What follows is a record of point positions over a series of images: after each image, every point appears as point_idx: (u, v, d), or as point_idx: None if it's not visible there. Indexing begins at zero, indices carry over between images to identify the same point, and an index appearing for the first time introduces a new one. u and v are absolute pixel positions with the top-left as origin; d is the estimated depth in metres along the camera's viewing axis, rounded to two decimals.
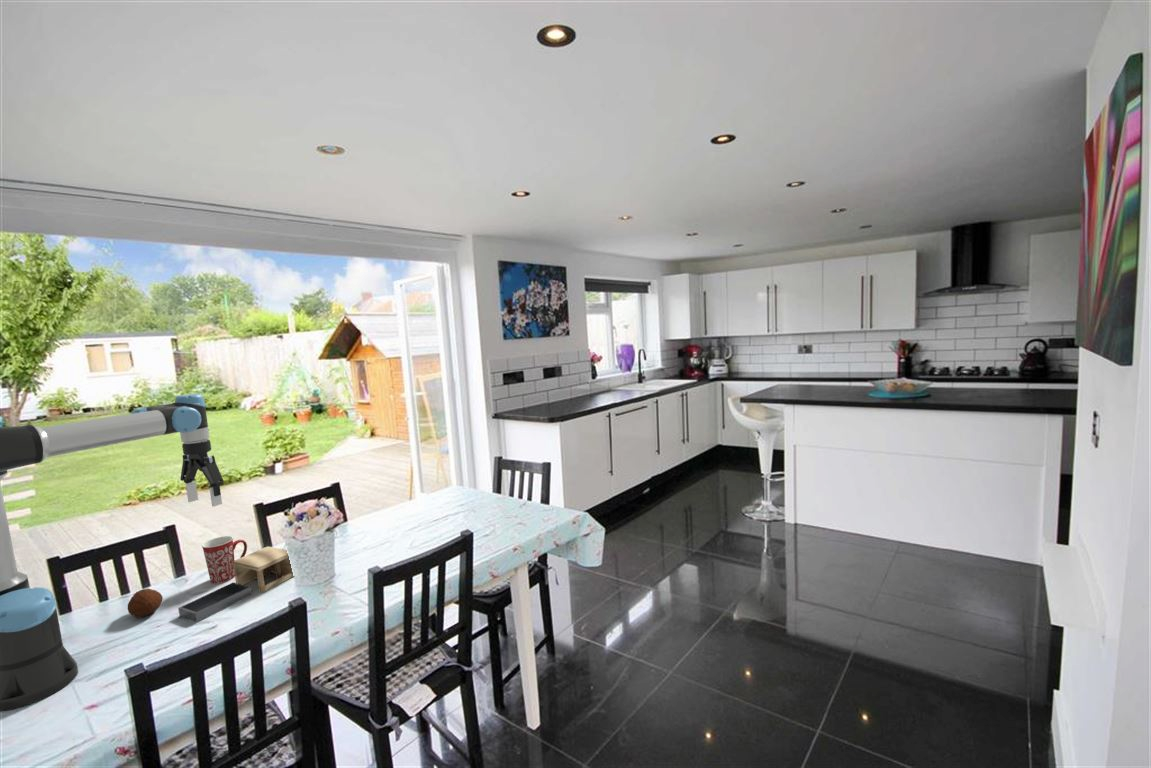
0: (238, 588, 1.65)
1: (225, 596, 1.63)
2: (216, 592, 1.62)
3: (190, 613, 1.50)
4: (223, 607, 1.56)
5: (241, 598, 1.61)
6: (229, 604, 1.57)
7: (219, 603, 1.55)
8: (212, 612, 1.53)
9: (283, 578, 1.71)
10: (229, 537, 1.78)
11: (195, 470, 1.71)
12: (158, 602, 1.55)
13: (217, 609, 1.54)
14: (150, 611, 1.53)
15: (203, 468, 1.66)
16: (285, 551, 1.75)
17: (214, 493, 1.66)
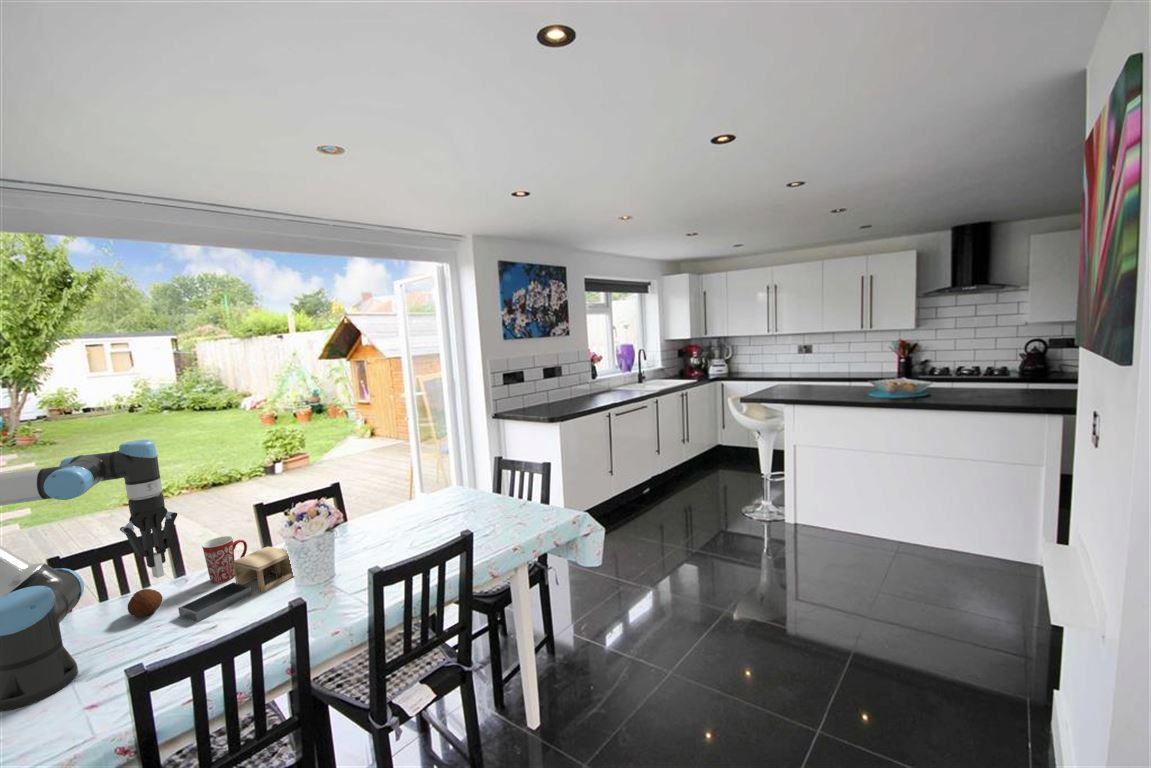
0: (238, 588, 1.65)
1: (225, 596, 1.63)
2: (216, 592, 1.62)
3: (190, 613, 1.50)
4: (223, 607, 1.56)
5: (241, 598, 1.61)
6: (229, 604, 1.58)
7: (219, 603, 1.55)
8: (212, 612, 1.53)
9: (283, 578, 1.71)
10: (229, 537, 1.78)
11: (155, 533, 1.43)
12: (158, 602, 1.55)
13: (217, 609, 1.54)
14: (150, 611, 1.53)
15: (141, 531, 1.42)
16: (285, 551, 1.75)
17: None
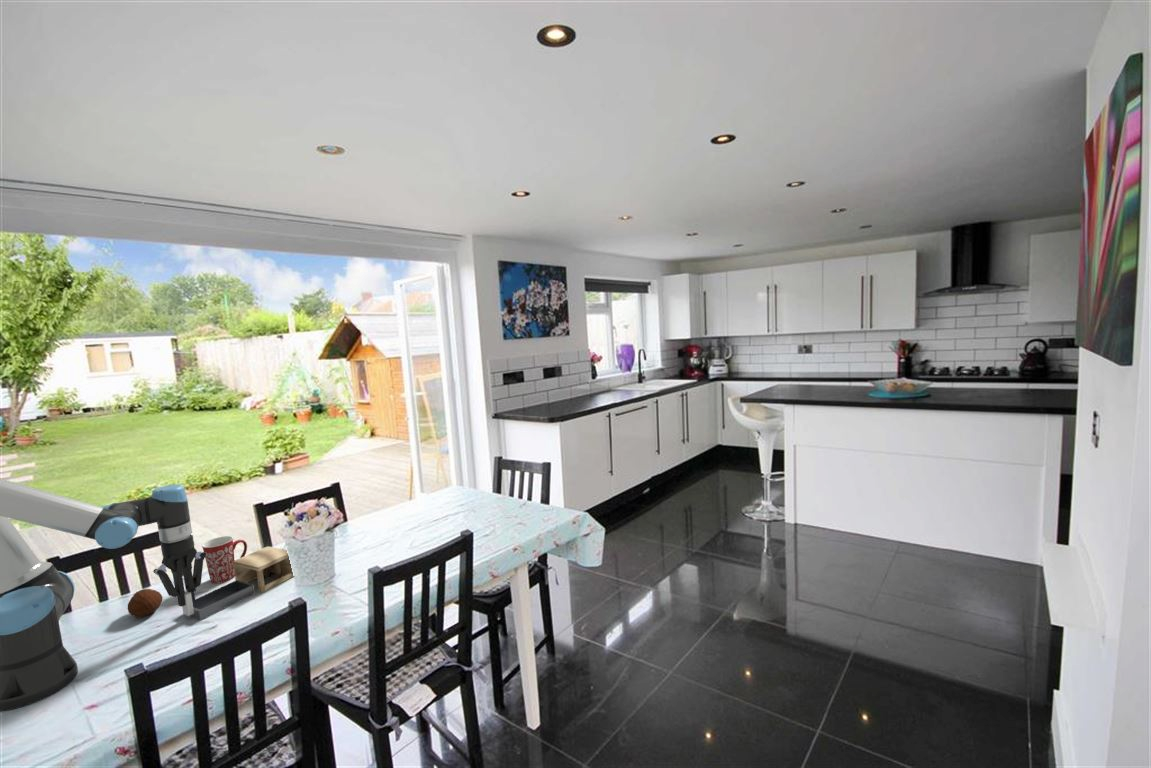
0: (241, 586, 1.66)
1: (228, 594, 1.64)
2: (219, 590, 1.63)
3: (194, 610, 1.51)
4: (226, 605, 1.57)
5: (244, 596, 1.62)
6: (232, 602, 1.58)
7: (222, 601, 1.56)
8: (215, 610, 1.54)
9: (283, 578, 1.71)
10: (229, 537, 1.78)
11: (186, 573, 1.50)
12: (158, 602, 1.55)
13: (220, 607, 1.55)
14: (150, 611, 1.53)
15: (172, 572, 1.48)
16: (285, 551, 1.75)
17: None
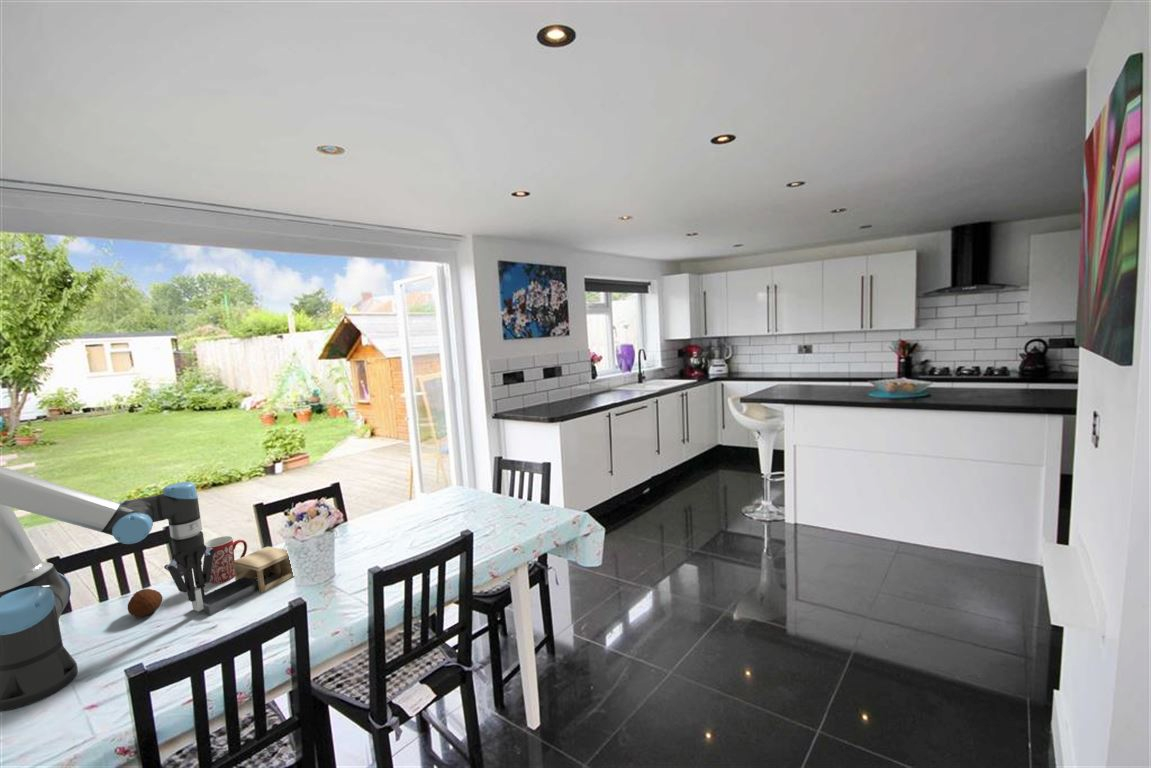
0: (249, 582, 1.68)
1: (237, 590, 1.66)
2: (228, 586, 1.65)
3: (203, 606, 1.53)
4: (235, 600, 1.59)
5: (253, 592, 1.64)
6: (241, 597, 1.61)
7: (231, 596, 1.58)
8: (225, 605, 1.56)
9: (283, 578, 1.71)
10: (229, 537, 1.78)
11: (196, 569, 1.53)
12: (158, 602, 1.55)
13: (229, 602, 1.58)
14: (150, 611, 1.53)
15: (183, 568, 1.51)
16: (285, 551, 1.75)
17: None
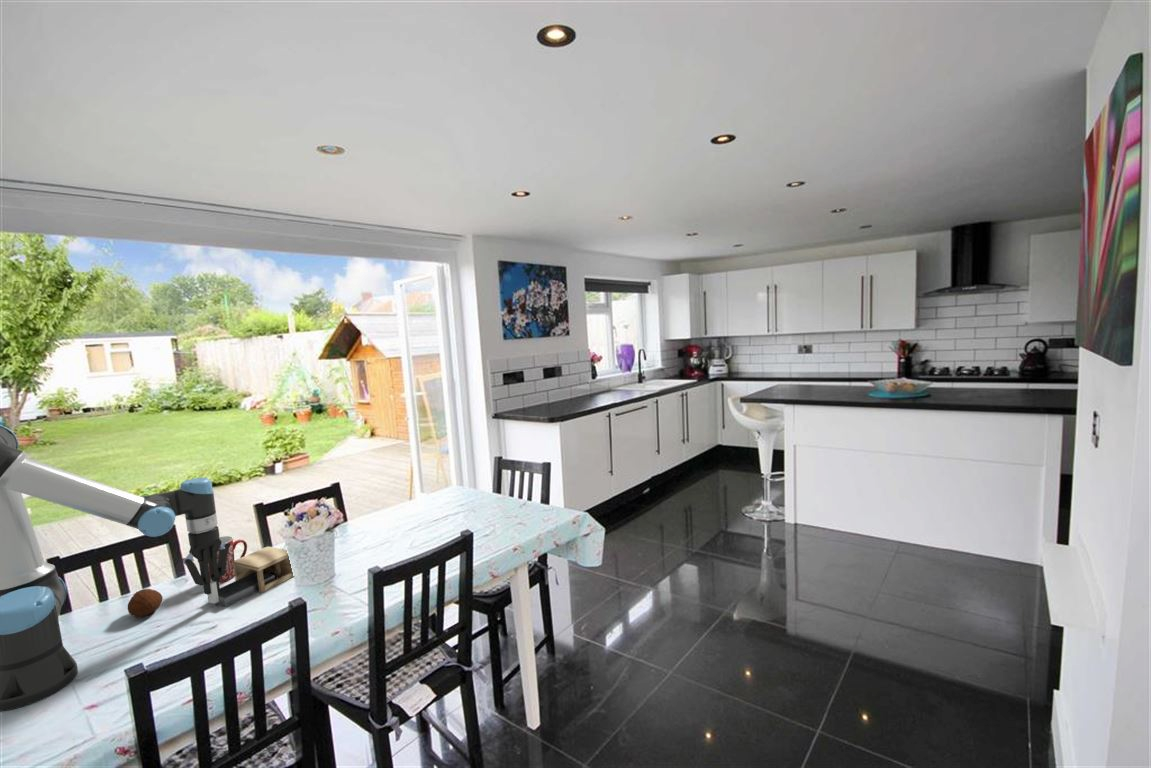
0: None
1: (250, 584, 1.70)
2: (242, 580, 1.69)
3: (219, 599, 1.57)
4: (249, 594, 1.63)
5: None
6: (255, 591, 1.65)
7: (246, 590, 1.62)
8: (239, 598, 1.60)
9: (283, 578, 1.71)
10: (229, 537, 1.78)
11: (211, 563, 1.56)
12: (158, 602, 1.55)
13: (244, 595, 1.62)
14: (150, 611, 1.53)
15: (199, 562, 1.55)
16: (285, 551, 1.75)
17: None
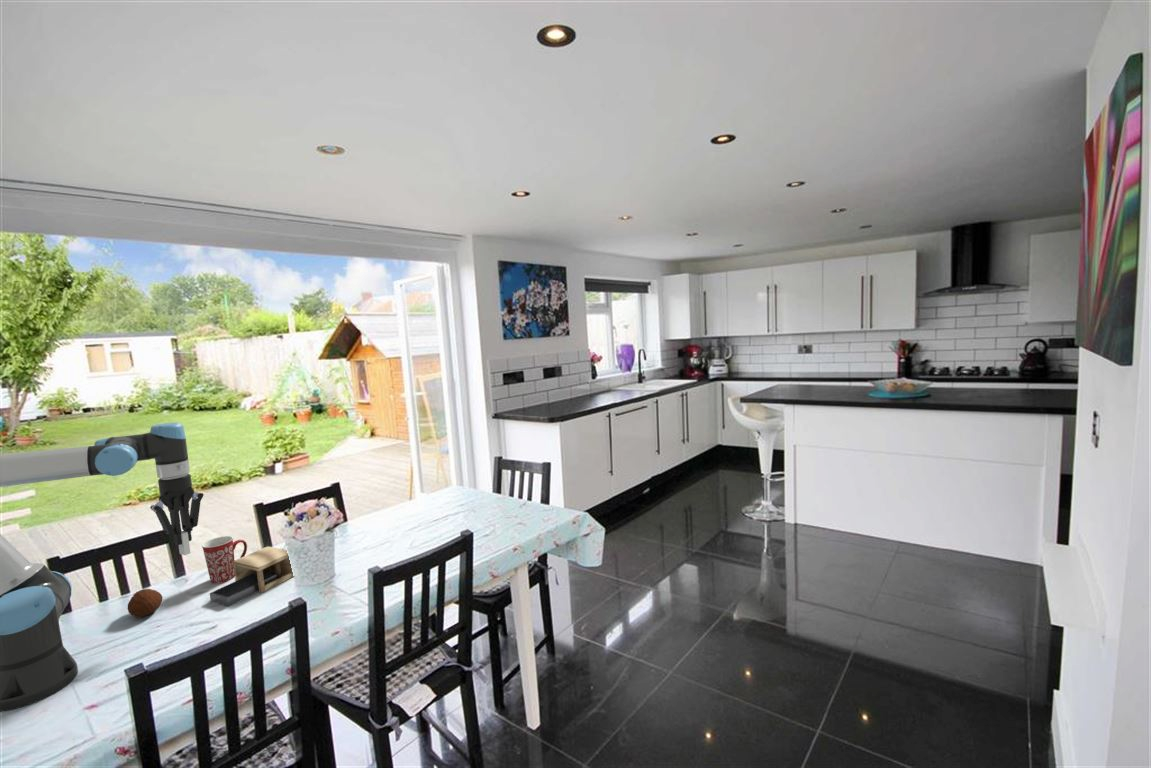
0: (264, 575, 1.73)
1: (252, 583, 1.71)
2: (244, 579, 1.70)
3: (221, 598, 1.58)
4: (252, 593, 1.64)
5: None
6: (257, 590, 1.65)
7: (248, 589, 1.63)
8: (242, 597, 1.61)
9: (283, 578, 1.71)
10: (229, 537, 1.78)
11: (183, 512, 1.50)
12: (158, 602, 1.55)
13: (246, 595, 1.62)
14: (150, 611, 1.53)
15: (169, 510, 1.48)
16: (285, 551, 1.75)
17: None
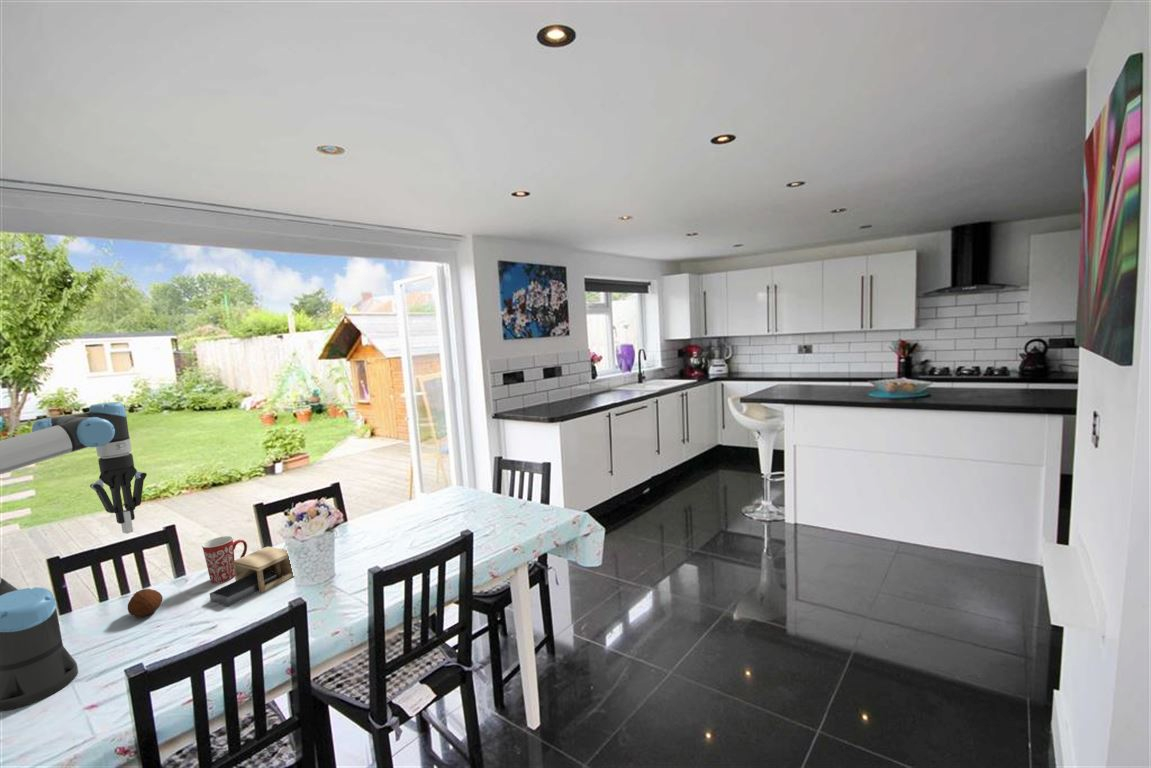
0: (264, 575, 1.73)
1: (252, 583, 1.71)
2: (244, 579, 1.70)
3: (221, 598, 1.58)
4: (251, 593, 1.64)
5: None
6: (257, 590, 1.65)
7: (248, 589, 1.63)
8: (242, 597, 1.61)
9: (283, 578, 1.71)
10: (229, 537, 1.78)
11: (125, 491, 1.51)
12: (158, 602, 1.55)
13: (246, 595, 1.62)
14: (150, 611, 1.53)
15: (111, 489, 1.49)
16: (285, 551, 1.75)
17: None
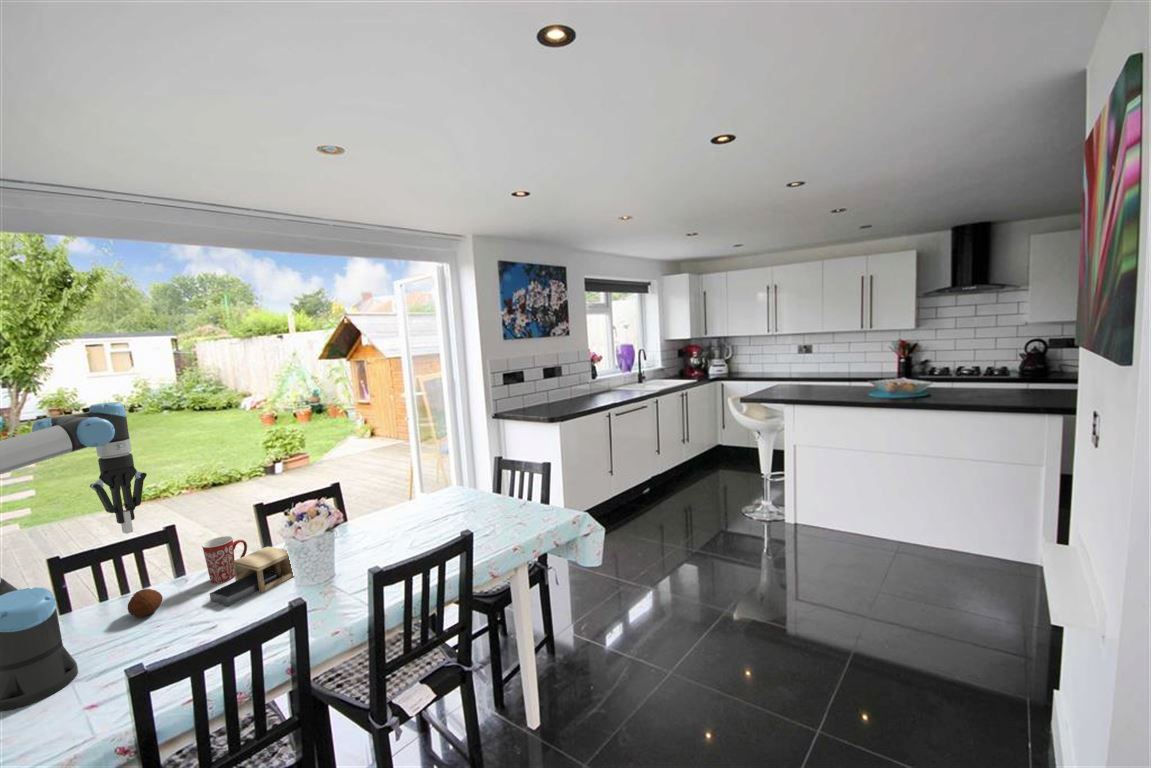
0: (264, 575, 1.73)
1: (252, 583, 1.71)
2: (244, 579, 1.70)
3: (221, 598, 1.58)
4: (251, 593, 1.64)
5: None
6: (257, 590, 1.65)
7: (248, 589, 1.63)
8: (241, 597, 1.61)
9: (283, 578, 1.71)
10: (229, 537, 1.78)
11: (125, 491, 1.51)
12: (158, 602, 1.55)
13: (246, 595, 1.62)
14: (150, 611, 1.53)
15: (111, 489, 1.49)
16: (285, 551, 1.75)
17: None
